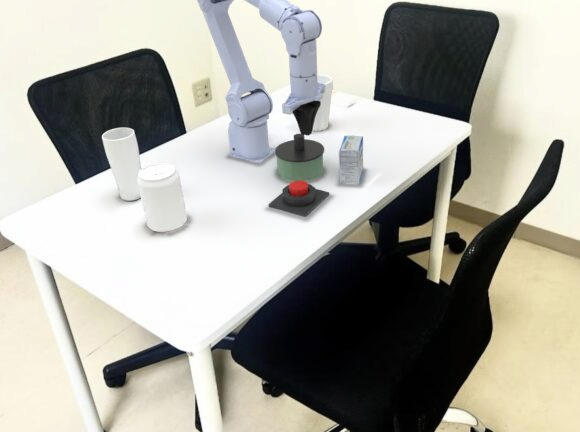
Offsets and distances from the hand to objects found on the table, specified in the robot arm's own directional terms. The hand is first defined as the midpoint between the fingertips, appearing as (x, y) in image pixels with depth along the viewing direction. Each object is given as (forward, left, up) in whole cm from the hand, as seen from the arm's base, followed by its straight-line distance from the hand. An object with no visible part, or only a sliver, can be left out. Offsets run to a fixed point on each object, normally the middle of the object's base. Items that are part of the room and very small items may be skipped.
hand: (306, 133), depth 123 cm
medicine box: (+10, +3, -11) cm, 15 cm away
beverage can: (-15, -31, -11) cm, 36 cm away
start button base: (+5, -12, -10) cm, 16 cm away
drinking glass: (-30, -26, -11) cm, 41 cm away
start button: (+5, -12, -8) cm, 15 cm away
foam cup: (-12, +25, -11) cm, 30 cm away
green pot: (-2, 0, -10) cm, 11 cm away
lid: (-2, 0, -5) cm, 5 cm away
